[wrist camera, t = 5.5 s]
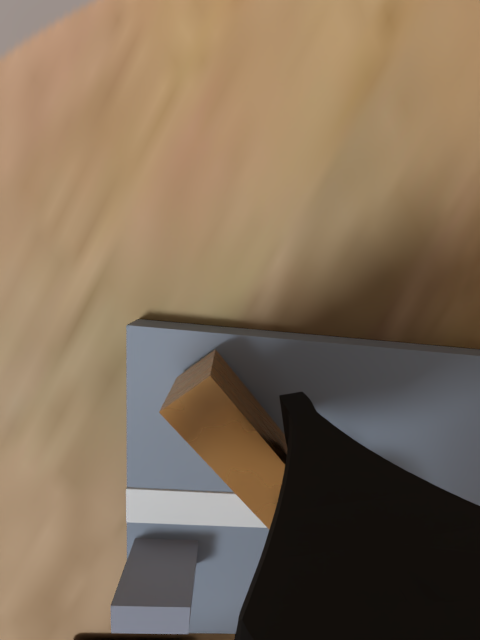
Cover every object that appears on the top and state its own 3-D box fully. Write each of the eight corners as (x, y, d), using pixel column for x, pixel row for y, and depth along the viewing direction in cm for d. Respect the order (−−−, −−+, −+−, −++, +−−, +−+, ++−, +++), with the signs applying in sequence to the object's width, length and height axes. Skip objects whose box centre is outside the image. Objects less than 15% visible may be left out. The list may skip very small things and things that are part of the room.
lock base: (440, 608, 15) (512, 724, 11) (135, 602, 14) (99, 728, 10) (540, 354, 12) (697, 397, 8) (138, 319, 10) (82, 347, 7)
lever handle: (400, 527, 12) (489, 663, 8) (314, 576, 12) (355, 728, 8) (247, 325, 9) (260, 369, 5) (147, 398, 10) (86, 490, 6)
